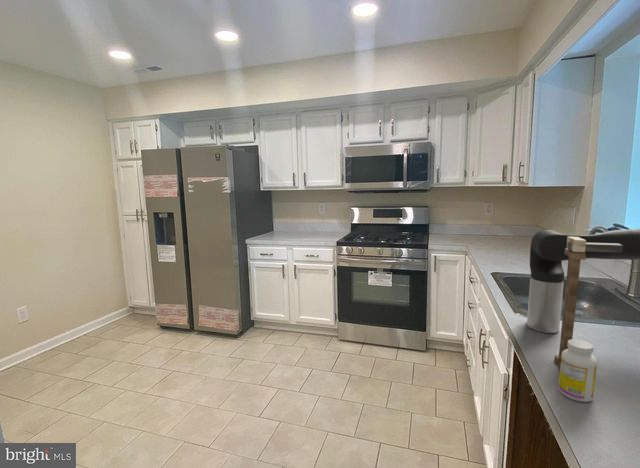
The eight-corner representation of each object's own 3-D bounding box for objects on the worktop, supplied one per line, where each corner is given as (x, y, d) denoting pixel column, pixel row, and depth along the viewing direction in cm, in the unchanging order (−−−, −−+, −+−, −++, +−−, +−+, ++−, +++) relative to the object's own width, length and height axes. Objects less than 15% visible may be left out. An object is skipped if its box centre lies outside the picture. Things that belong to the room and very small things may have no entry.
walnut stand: (554, 359, 95) (565, 248, 89) (564, 360, 94) (576, 248, 89) (562, 371, 89) (574, 253, 84) (573, 372, 88) (586, 253, 83)
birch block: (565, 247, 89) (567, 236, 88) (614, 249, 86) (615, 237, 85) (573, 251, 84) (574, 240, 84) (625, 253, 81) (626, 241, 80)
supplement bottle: (577, 384, 83) (583, 336, 81) (600, 402, 77) (607, 350, 75) (551, 386, 83) (556, 337, 81) (572, 403, 76) (577, 351, 74)
